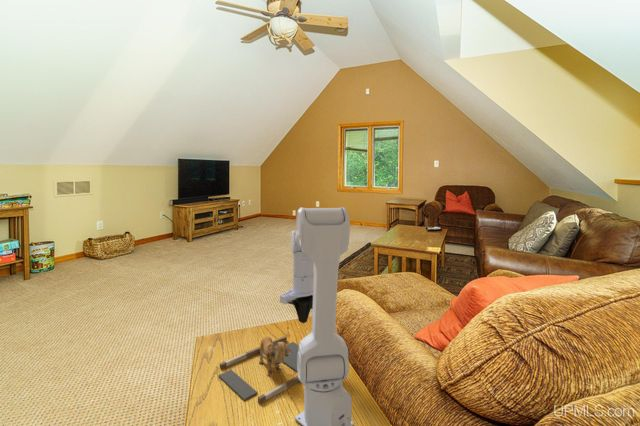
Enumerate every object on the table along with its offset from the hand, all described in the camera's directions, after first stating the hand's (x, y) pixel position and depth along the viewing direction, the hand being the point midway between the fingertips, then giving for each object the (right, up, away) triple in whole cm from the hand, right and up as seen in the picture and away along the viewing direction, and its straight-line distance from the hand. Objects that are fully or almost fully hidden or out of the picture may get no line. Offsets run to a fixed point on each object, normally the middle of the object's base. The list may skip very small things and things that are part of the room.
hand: (302, 321), depth 93 cm
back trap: (-2, -10, -1) cm, 10 cm away
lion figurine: (-8, -10, -6) cm, 14 cm away
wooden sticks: (-7, -10, -6) cm, 14 cm away
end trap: (-15, -11, -13) cm, 23 cm away
